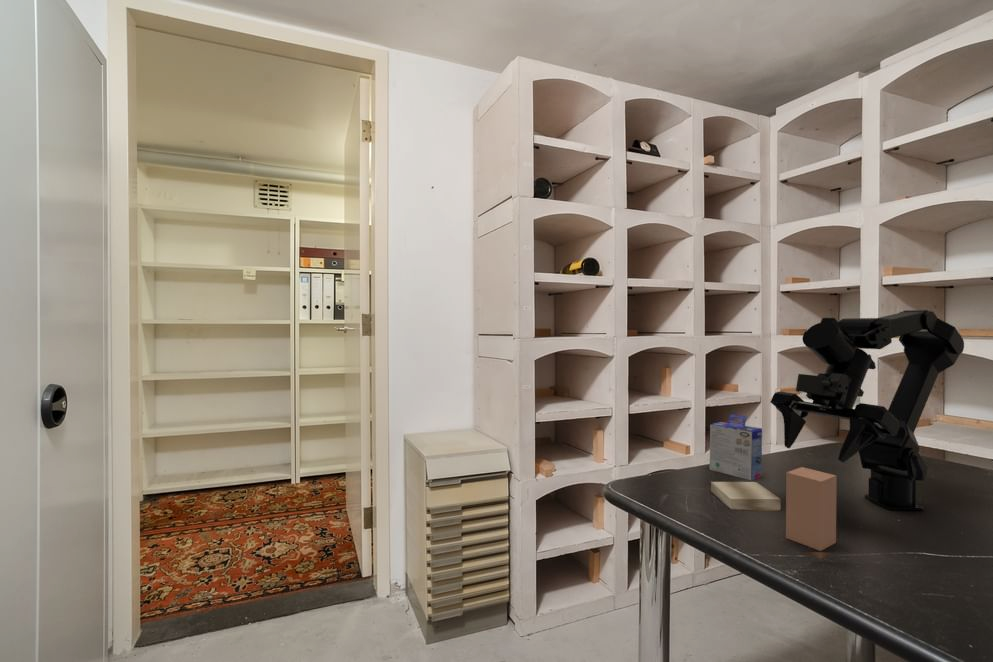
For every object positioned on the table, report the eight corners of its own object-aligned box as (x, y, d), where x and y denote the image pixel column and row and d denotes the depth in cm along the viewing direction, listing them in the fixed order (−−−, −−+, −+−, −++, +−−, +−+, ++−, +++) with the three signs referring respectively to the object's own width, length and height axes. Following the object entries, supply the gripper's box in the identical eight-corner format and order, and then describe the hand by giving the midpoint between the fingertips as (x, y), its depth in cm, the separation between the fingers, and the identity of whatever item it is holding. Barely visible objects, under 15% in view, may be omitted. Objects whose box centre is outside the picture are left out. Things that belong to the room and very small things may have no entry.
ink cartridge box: (763, 481, 103) (763, 417, 103) (752, 486, 100) (752, 421, 100) (720, 470, 111) (720, 411, 111) (708, 474, 108) (708, 414, 107)
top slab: (756, 491, 93) (755, 482, 93) (780, 509, 84) (780, 499, 84) (711, 491, 94) (711, 481, 94) (730, 509, 85) (730, 498, 85)
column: (801, 537, 76) (801, 467, 76) (835, 550, 72) (836, 475, 72) (785, 545, 74) (786, 472, 73) (820, 559, 69) (821, 481, 69)
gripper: (770, 351, 89) (738, 421, 86) (881, 358, 72) (847, 446, 69) (801, 380, 93) (772, 448, 90) (914, 393, 76) (883, 478, 72)
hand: (812, 453), depth 80 cm, fingers open, 9 cm apart
